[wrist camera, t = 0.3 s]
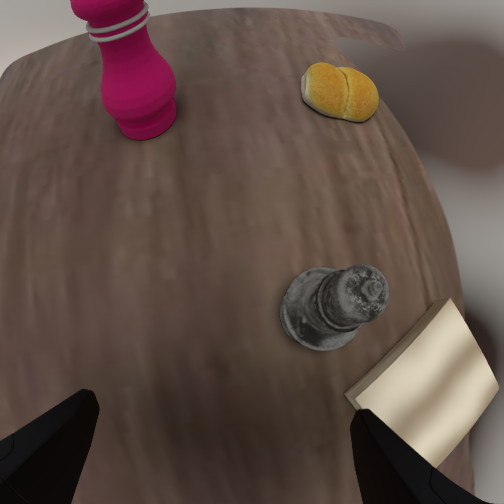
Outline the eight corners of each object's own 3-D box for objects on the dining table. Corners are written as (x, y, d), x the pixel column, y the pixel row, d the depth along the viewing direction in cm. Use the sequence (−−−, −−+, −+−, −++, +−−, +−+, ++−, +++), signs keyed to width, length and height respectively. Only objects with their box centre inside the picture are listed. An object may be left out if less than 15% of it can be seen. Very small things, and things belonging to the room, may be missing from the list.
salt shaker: (345, 277, 25) (424, 225, 13) (347, 348, 23) (435, 348, 11) (275, 276, 24) (311, 217, 13) (275, 350, 23) (315, 359, 11)
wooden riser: (483, 386, 22) (499, 387, 20) (407, 474, 19) (420, 482, 17) (434, 302, 24) (450, 298, 22) (343, 393, 22) (354, 398, 19)
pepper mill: (149, 155, 27) (84, -36, 8) (103, 129, 28) (33, -25, 9) (195, 107, 29) (176, -71, 10) (147, 87, 30) (110, -64, 11)
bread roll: (378, 130, 30) (392, 108, 26) (301, 116, 30) (308, 90, 26) (367, 83, 32) (377, 61, 28) (298, 70, 32) (304, 46, 28)
